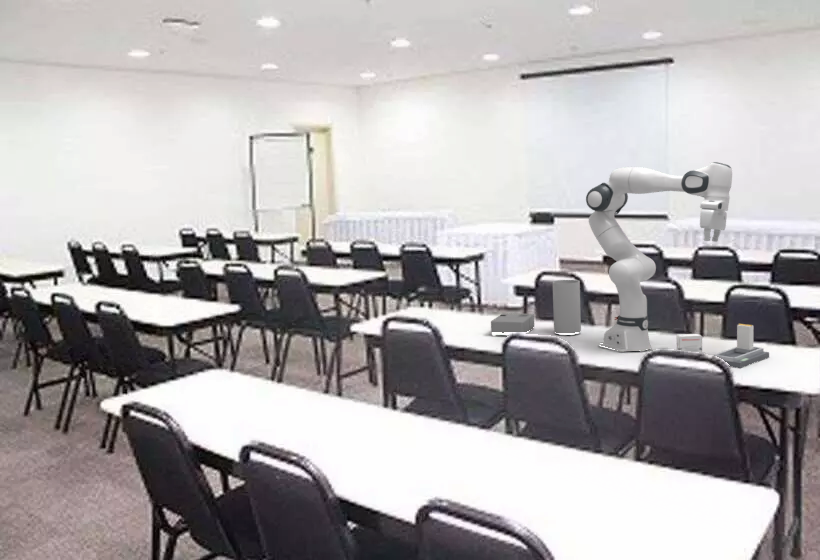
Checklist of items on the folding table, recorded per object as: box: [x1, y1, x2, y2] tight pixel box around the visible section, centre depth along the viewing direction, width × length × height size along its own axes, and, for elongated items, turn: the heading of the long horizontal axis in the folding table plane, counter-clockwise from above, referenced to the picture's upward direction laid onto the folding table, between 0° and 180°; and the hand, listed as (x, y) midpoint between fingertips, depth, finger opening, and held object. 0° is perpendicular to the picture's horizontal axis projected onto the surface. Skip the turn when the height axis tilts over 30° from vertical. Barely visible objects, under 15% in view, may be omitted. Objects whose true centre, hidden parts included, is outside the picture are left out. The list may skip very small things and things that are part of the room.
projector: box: [490, 312, 535, 333], centre depth 362 cm, size 17×22×8 cm
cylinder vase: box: [552, 279, 582, 333], centre depth 351 cm, size 12×12×25 cm
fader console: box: [713, 346, 770, 369], centre depth 287 cm, size 13×22×3 cm, turn 128°
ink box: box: [675, 333, 703, 354], centre depth 284 cm, size 9×5×12 cm, turn 84°
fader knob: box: [735, 323, 755, 353], centre depth 289 cm, size 6×4×11 cm, turn 38°
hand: (710, 241), depth 284 cm, fingers open, 8 cm apart
